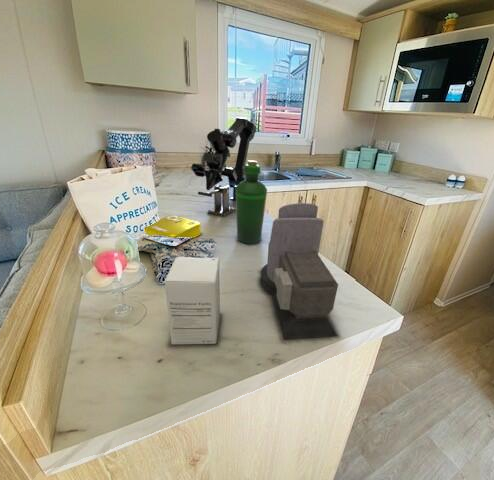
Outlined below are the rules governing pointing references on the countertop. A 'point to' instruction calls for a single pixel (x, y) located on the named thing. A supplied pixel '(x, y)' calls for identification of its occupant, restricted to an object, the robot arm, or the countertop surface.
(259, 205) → the bottle
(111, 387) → the countertop surface
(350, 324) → the countertop surface
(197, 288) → the white product box
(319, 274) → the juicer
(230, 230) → the countertop surface
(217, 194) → the tap bracket
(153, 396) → the countertop surface
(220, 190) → the tap lever
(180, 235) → the element tile
